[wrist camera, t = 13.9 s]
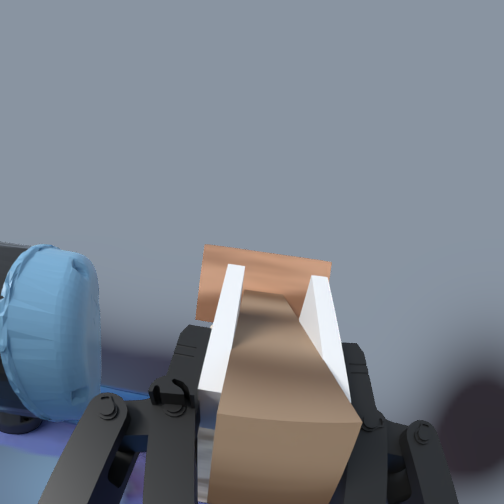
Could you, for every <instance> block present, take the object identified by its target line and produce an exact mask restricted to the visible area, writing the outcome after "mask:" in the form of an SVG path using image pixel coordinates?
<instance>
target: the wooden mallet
mask: <svg viewBox="0 0 504 504" xmlns="http://www.w3.org/2000/svg"><path fill="white" fill-rule="evenodd" d="M228 264H234V265H241V266H245V271H244V279H243V287H242V295H241V303H240V311H239V317H238V321H237V326H236V330H235V335H234V340H233V344H232V349H231V352H230V356H229V361H228V365H227V370H226V374H225V379H224V384H223V388H222V393H221V397H220V402H219V406H218V411H217V417H216V426H215V434H214V443H213V451H212V460H211V469H210V478H209V487H208V497H207V503H209V504H329V502H330V500H331V498H332V496H333V494H334V492H335V490H336V487H337V485H338V483H339V481H340V479H341V476H342V474H343V472H344V469H345V467H346V465H347V462H348V460H349V457H350V455H351V452H352V450H353V447H354V445H355V442H356V439H357V437H358V434H359V431H360V428H361V425H362V423H363V422H362V421H361V419H360V417H359V416H358V414H357V413H356V411H355V409H354V408H353V406H352V404H351V403H350V401H349V400H348V398H347V396H346V395H345V393H344V392H343V390H342V388H341V387H340V385H339V384H338V382H337V380H336V379H335V377H334V376H333V374H332V372H331V371H330V369H329V368H328V366H327V364H326V363H325V361H324V360H323V359H322V357H321V356H320V354H319V352H318V351H317V349H316V348H315V346H314V344H313V343H312V341H311V339H310V338H309V336H308V335H307V333H306V331H305V330H304V328H303V327H302V325H301V323H300V322H299V317H300V314H301V310H302V307H303V304H304V300H305V297H306V293H307V290H308V286H309V282H310V279H311V275H315V276H323V277H328V281H329V277H330V271H331V265H332V263H331V262H328V261H322V260H315V259H309V258H301V257H295V256H287V255H280V254H272V253H266V252H259V251H251V250H244V249H238V248H231V247H224V246H216V245H206V244H205V247H204V254H203V261H202V269H201V276H200V286H199V293H198V301H197V310H196V320H201V321H207V322H213V323H214V318H215V314H216V310H217V306H218V302H219V298H220V294H221V290H222V286H223V282H224V278H225V274H226V270H227V267H228Z"/></svg>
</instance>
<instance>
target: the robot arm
mask: <svg viewBox="0 0 504 504" xmlns="http://www.w3.org/2000/svg"><path fill="white" fill-rule="evenodd" d="M244 271H245V266H241V265H234V264H228V267H227V270H226V274H225V278H224V282H223V286H222V290H221V294H220V298H219V302H218V306H217V310H216V314H215V318H214V323H213V327H212V328H206V327H200V326H194V325H188V326H187V327H186V328H185V329H184V330H183V331H182V332H181V333H180V336H179V339H178V342H177V346H176V348H175V351H174V355H173V357H172V360H171V363H170V366H169V369H168V372H167V375H166V376H163V377H160V378H158V379H156V380H155V381H154V382H153V383H152V384H151V385H150V388H149V390H148V392H149V396H150V398H149V399H145V400H133V401H124V400H123V399H122V398H121V397H120V396H118V395H116V394H113V393H100V384H101V330H100V328H101V327H100V307H99V302H98V300H99V287H98V278H97V274H96V270H95V268H94V266H93V264H92V262H91V261H90V260H89V259H88V258H87V257H86V256H84V255H82V254H80V253H76V252H69V251H64V250H61V249H59V248H58V247H55V246H52V245H47V244H40V245H35V246H27V245H19V244H13V243H6V242H0V431H2V432H6V433H11V434H20V433H26V432H29V431H31V430H33V429H35V428H36V427H38V426H39V425H40V423H41V421H42V419H44V420H48V421H52V422H62V421H65V420H79V422H78V424H77V426H76V428H75V430H74V431H73V433H72V435H71V437H70V439H69V441H68V443H67V445H66V447H65V449H64V451H63V452H62V454H61V456H60V458H59V460H58V462H57V465H56V466H55V468H54V471H53V472H52V474H51V477H50V479H49V481H48V483H47V485H46V487H45V489H44V491H43V493H42V496H41V498H40V500H39V502H38V504H119V503H120V501H121V498H122V495H123V493H124V490H125V488H126V485H127V483H128V480H129V478H130V475H131V473H132V470H133V468H134V465H135V463H136V460H137V458H138V455H139V453H140V452H145V451H147V454H146V464H145V476H144V490H143V504H198V437H197V435H198V430H199V425H200V427H201V428H207V429H213V430H215V426H216V417H217V411H218V406H219V402H220V397H221V393H222V388H223V384H224V379H225V374H226V370H227V365H228V361H229V356H230V352H231V349H232V344H233V340H234V335H235V330H236V326H237V321H238V317H239V311H240V303H241V295H242V287H243V279H244ZM299 322H300V323H301V325H302V327H303V328H304V330H305V331H306V333H307V335H308V336H309V338H310V339H311V341H312V343H313V344H314V346H315V348H316V349H317V351H318V352H319V354H320V356H321V357H322V359H323V360H324V361H325V363H326V364H327V366H328V368H329V369H330V371H331V372H332V374H333V376H334V377H335V379H336V380H337V382H338V384H339V385H340V387H341V388H342V390H343V392H344V393H345V395H346V396H347V398H348V400H349V401H350V403H351V404H352V406H353V408H354V409H355V411H356V413H357V414H358V416H359V417H360V419H361V421H362V422H363V423H362V425H361V428H360V431H359V434H358V437H357V439H356V442H355V445H354V447H353V450H352V452H351V455H350V457H349V460H348V462H347V465H346V467H345V469H344V472H343V474H342V476H341V479H340V481H339V483H338V485H337V487H336V490H335V492H334V494H333V496H332V498H331V500H330V502H329V504H458V500H457V496H456V492H455V489H454V485H453V482H452V478H451V475H450V471H449V468H448V465H447V462H446V458H445V455H444V452H443V449H442V446H441V443H440V440H439V438H438V435H437V432H436V430H435V428H434V427H433V426H432V425H431V424H430V423H429V422H426V421H423V420H417V421H415V422H413V423H412V424H410V425H409V426H406V425H402V424H398V423H394V422H391V421H388V420H386V419H385V417H384V416H383V414H382V413H381V412H379V411H378V410H377V408H376V406H375V401H374V396H373V392H372V387H371V382H370V378H369V375H368V369H367V366H366V360H365V356H364V353H363V351H362V350H361V349H360V347H359V346H358V344H357V343H342V342H341V340H340V334H339V329H338V324H337V319H336V314H335V309H334V304H333V300H332V295H331V291H330V286H329V281H328V277H323V276H315V275H311V279H310V282H309V286H308V290H307V293H306V297H305V300H304V304H303V307H302V310H301V314H300V317H299Z"/></svg>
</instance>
